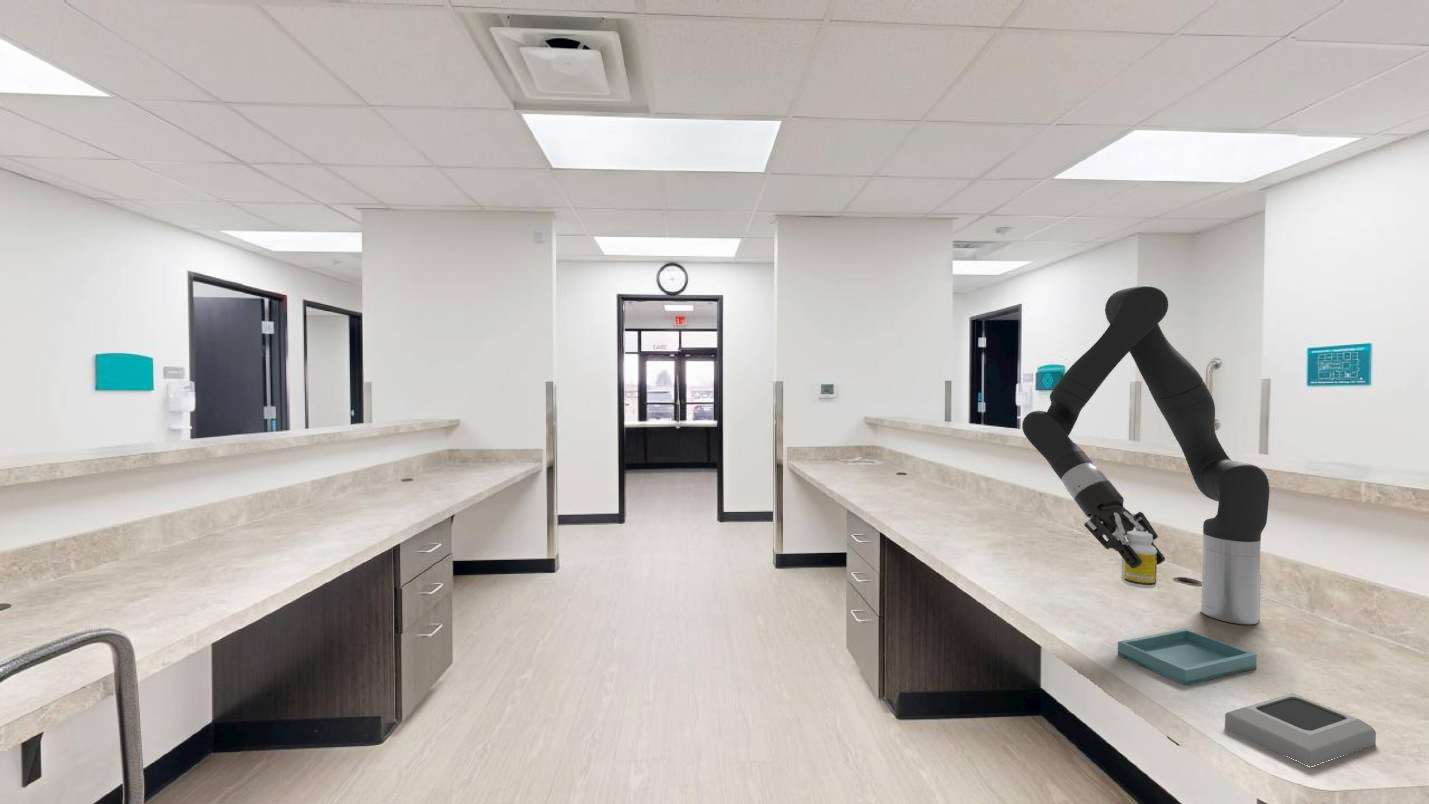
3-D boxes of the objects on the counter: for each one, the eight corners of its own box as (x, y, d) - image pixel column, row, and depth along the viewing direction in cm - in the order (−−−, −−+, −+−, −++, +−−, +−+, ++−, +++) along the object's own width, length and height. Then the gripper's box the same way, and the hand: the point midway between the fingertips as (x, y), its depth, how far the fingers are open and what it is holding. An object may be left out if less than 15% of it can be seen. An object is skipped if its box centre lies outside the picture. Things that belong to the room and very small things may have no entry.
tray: (1185, 641, 113) (1185, 628, 113) (1256, 668, 103) (1256, 654, 102) (1117, 654, 108) (1117, 641, 107) (1185, 685, 97) (1186, 670, 97)
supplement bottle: (1162, 590, 109) (1163, 537, 109) (1129, 588, 110) (1130, 536, 110) (1147, 580, 114) (1148, 530, 114) (1116, 578, 115) (1117, 529, 115)
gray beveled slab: (1225, 705, 85) (1288, 687, 90) (1224, 730, 85) (1288, 710, 90) (1311, 743, 76) (1376, 720, 81) (1310, 771, 76) (1375, 747, 81)
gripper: (1076, 481, 116) (1135, 558, 105) (1129, 477, 121) (1191, 550, 110) (1053, 502, 122) (1107, 578, 111) (1104, 498, 126) (1161, 570, 115)
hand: (1148, 563), depth 110 cm, fingers closed on supplement bottle, 5 cm apart
